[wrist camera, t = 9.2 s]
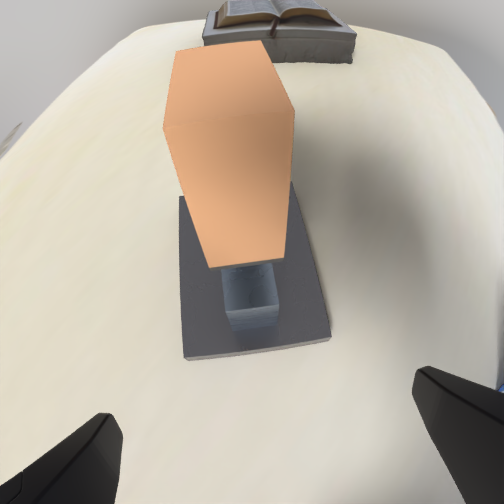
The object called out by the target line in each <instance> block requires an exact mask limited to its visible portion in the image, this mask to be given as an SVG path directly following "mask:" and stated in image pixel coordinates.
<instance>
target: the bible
mask: <svg viewBox="0 0 504 504" xmlns="http://www.w3.org/2000/svg"><path fill="white" fill-rule="evenodd" d="M356 36H357V33H356V32H354V31H353V30H352V29H351V28H350V27H349V26H348V25H347V24H345V23H344V22H342V21H341V20H340V19H339V18H338V17H336V16H335V15H334V14H333V13H332V12H330V11H329V10H328V9H327V8H323V7H322V6H320V5H319V4H318V3H317V2H315V1H314V0H270V1H269V0H229V1H227V2H225V3H224V4H223V5H222V7H221V8H220V9H219V10H214V11H209V12H208V15H207V19H206V24H205V27H204V30H203V34H202V38H203V40H204V46H211V45H218V44H226V43H235V42H245V41H258V40H261V42H262V44H263V46H264V48H265V50H266V52H267V54H268V56H269V58H270V60H271V62H272V63H285V62H288V63H295V62H309V63H310V62H314V63H330V64H334V63H336V64H341V63H347V64H351V63H352V61H353V59H352V56H351V54H352V53H353V51H354V47H355V39H356Z"/></svg>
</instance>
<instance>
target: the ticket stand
mask: <svg viewBox="0 0 504 504" xmlns="http://www.w3.org/2000/svg"><path fill="white" fill-rule="evenodd" d="M179 267H180V299H181V321H182V338H183V353H184V358H185V359H186V360H188V361H192V360H203V359H213V358H222V357H231V356H239V355H247V354H254V353H261V352H268V351H275V350H281V349H287V348H293V347H299V346H305V345H310V344H316V343H321V342H326V341H329V340H330V338H331V337H332V336H331V331H330V327H329V322H328V318H327V314H326V309H325V305H324V301H323V297H322V292H321V288H320V284H319V280H318V276H317V272H316V268H315V264H314V260H313V257H312V253H311V249H310V245H309V241H308V238H307V234H306V230H305V227H304V223H303V219H302V216H301V212H300V209H299V205H298V202H297V198H296V195H295V191H294V188H293V184H292V181H290V191H289V204H288V217H287V229H286V240H285V251H284V261H281V262H274V263H266V264H259V265H252V266H245V267H238V268H230V269H223V270H216V271H210V269H209V266H208V263H207V261H206V258H205V255H204V252H203V249H202V247H201V244H200V241H199V238H198V235H197V232H196V229H195V226H194V224H193V221H192V218H191V215H190V212H189V209H188V206H187V203H186V200H185V197H184V196H179Z"/></svg>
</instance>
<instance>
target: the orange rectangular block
mask: <svg viewBox="0 0 504 504" xmlns="http://www.w3.org/2000/svg"><path fill="white" fill-rule="evenodd" d="M294 115H295V110H294V108H293V106H292V104H291V102H290V99H289V97H288V95H287V93H286V91H285V89H284V86H283V84H282V82H281V80H280V78H279V76H278V74H277V72H276V70H275V68H274V66H273V64H272V62H271V60H270V58H269V56H268V54H267V52H266V50H265V48H264V46H263V44H262V42H261V40H258V41H245V42H235V43H226V44H218V45H211V46H204V47H197V48H191V49H186V50H180V51H176V54H175V59H174V64H173V69H172V74H171V80H170V86H169V91H168V97H167V103H166V110H165V116H164V123H163V131H164V134H165V137H166V141H167V144H168V147H169V150H170V153H171V157H172V160H173V163H174V166H175V169H176V172H177V176H178V179H179V182H180V185H181V188H182V191H183V194H184V197H185V200H186V203H187V206H188V209H189V212H190V215H191V218H192V221H193V224H194V226H195V229H196V232H197V235H198V238H199V241H200V244H201V247H202V249H203V252H204V255H205V258H206V261H207V263H208V266H209V269H210V271H216V270H223V269H230V268H238V267H245V266H252V265H259V264H266V263H274V262H281V261H284V251H285V240H286V229H287V217H288V204H289V191H290V178H291V164H292V149H293V132H294Z"/></svg>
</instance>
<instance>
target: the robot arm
mask: <svg viewBox="0 0 504 504" xmlns="http://www.w3.org/2000/svg"><path fill="white" fill-rule="evenodd" d="M412 395H413V398H414V400H415V403H416V405H417V407H418V410H419V412H420V414H421V417H422V419H423V421H424V424H425V426H426V429H427V431H428V433H429V435H430V437H431V439H432V441H433V442H434V444H435V446H436V448H437V450H438V451H439V453H440V455H441V457H442V459H443V461H444V462H445V464H446V466H447V468H448V470H449V472H450V474H451V475H452V477H453V479H454V481H455V483H456V485H457V487H458V489H459V491H460V493H461V495H462V497H463V499H464V501H465V503H466V504H504V393H503V392H500V391H497V390H494V389H491V388H488V387H485V386H483V385H480V384H477V383H474V382H472V381H469V380H466V379H463V378H461V377H458V376H455V375H452V374H450V373H447V372H444V371H442V370H439V369H437V368H434V367H431V366H425V367H422V368H420V369H418V370H417V371H416V373H415V378H414V382H413V387H412ZM122 443H123V434H122V431H121V429H120V427H119V426H118V424H117V422H116V420H115V418H114V416H113V415H112V414H110V413H98V414H97V415H95V416H94V417H93V418H91V419H90V420H89V421H88V422H86V423H85V424H84V425H82V426H81V427H80V428H78V429H77V430H76V431H75V432H73V433H72V434H71V435H69V436H68V437H67V438H65V439H64V440H63V441H61V442H60V443H59V444H58V445H56V446H55V447H54V448H52V449H51V450H50V451H48V452H47V453H46V454H44V455H43V456H41V457H40V458H39V459H37V460H36V461H35V462H33V463H32V464H31V465H29V466H28V467H27V468H25V469H24V470H23V472H22V471H21V472H20V473H18V474H17V475H15V476H14V477H13V478H11V479H10V480H8V481H7V482H5V483H4V484H2V485H1V486H0V504H114V503H115V498H116V493H117V487H118V482H119V475H120V464H121V453H122Z"/></svg>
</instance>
